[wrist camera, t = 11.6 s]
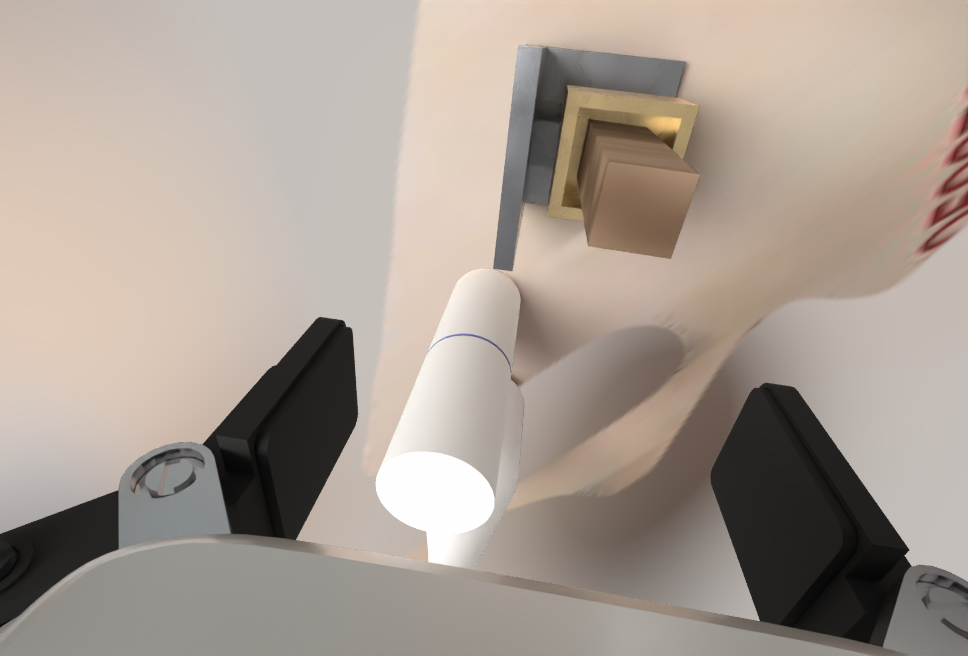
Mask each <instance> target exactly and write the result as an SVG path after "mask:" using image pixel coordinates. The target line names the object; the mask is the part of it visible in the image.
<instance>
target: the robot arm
mask: <svg viewBox="0 0 968 656" xmlns="http://www.w3.org/2000/svg"><path fill="white" fill-rule="evenodd" d="M357 417H358V405H357V391H356V376H355V361H354V347H353V333H352V329H351V328H350V327H346V325H345V322H344V321H343V320H337V319H329V318H323V317H319V318H318V319H316V320H315V321H314V323H313V324H312V325H311V326H310V327H309V328H308V330H307V331H306V332H305V333H304V334H303V335H302V337H301V338H300V339H299V340H298V341H297V342H296V343H295V344H294V346H293V347H292V348H291V349H290V350H289V351H288V352H287V354H286V355H285V356H284V357H283V358H282V359H281V361H280V362H279V363H278V364H277V365H276V366H272V368H270V369H269V370H268V371H267V372H266V373H265V374H264V375H263V376H262V377H261V379H260V380H259V381H258V382H257V383H256V384H255V385H254V386H253V388H252V389H251V390H250V391H249V392H248V393H247V394H246V396H245V397H244V398H243V399H242V400H241V401H240V402H239V404H238V405H237V406H236V407H235V408H234V409H233V410H232V411H231V413H230V414H229V415H228V416H227V417H226V418H225V419H224V421H223V422H222V423H221V424H220V425H219V426H218V427H217V429H216V430H215V431H214V432H213V433H212V434H211V436H210V437H209V438H208V439H207V440H206V441H205V442H204V443H203V444H197V443H193V442H179V443H174V444H169V445H165V446H162V447H160V448H157V449H154V450H152V451H150V452H148V453H147V454H145V455H143V456H142V457H140V458H138V459H137V460H136V461H135V462H134V463H133V464H132V465H130V466H129V467H128V469H127V470H126V471H125V473H124V474H123V476H122V477H121V480H120V484H119V490H118V491H115V492H112V493H109V494H107V495H104V496H101V497H99V498H96V499H93V500H91V501H88V502H85V503H82V504H80V505H77V506H74V507H72V508H69V509H66V510H64V511H61V512H58V513H56V514H53V515H50V516H47V517H45V518H42V519H39V520H37V521H34V522H31V523H29V524H26V525H23V526H21V527H18V528H15V529H13V530H10V531H7V532H4V533H2V534H0V656H968V582H967V581H966V580H964V579H962V578H960V577H958V576H956V575H954V574H952V573H950V572H948V571H946V570H943V569H940V568H937V567H934V566H927V565H917V566H913V567H912V566H911V565H910V563H909V562H908V560H907V559H906V557H905V556H904V555H905V554H906V553H907V552H908V551H909V549H908V547H907V546H906V544H905V543H904V541H903V540H902V539H901V537H900V536H899V534H898V533H897V532H896V530H895V529H894V528H893V526H892V524H891V523H890V522H889V520H888V519H887V517H886V516H885V514H884V513H883V512H882V510H881V509H880V507H879V506H878V505H877V503H876V502H875V501H874V499H873V497H872V496H871V495H870V493H869V492H868V490H867V489H866V488H865V486H864V485H863V483H862V482H861V480H860V479H859V478H858V476H857V475H856V473H855V472H854V470H853V469H852V468H851V466H850V465H849V463H848V462H847V460H846V459H845V458H844V456H843V455H842V453H841V452H840V450H839V449H838V448H837V446H836V445H835V443H834V442H833V440H832V439H831V438H830V436H829V435H828V433H827V432H826V431H825V429H824V428H823V426H822V425H821V423H820V422H819V421H818V419H817V418H816V416H815V415H814V414H813V412H812V411H811V409H810V408H809V406H808V405H807V403H806V402H805V401H804V399H803V398H802V396H801V395H800V394H799V392H798V391H797V390H796V389H795V388H794V387H791V386H785V385H778V384H770V383H764V384H763V385H761V386H760V387H759V388H754V389H753V390H752V391H751V392H750V394H749V396H748V398H747V400H746V402H745V404H744V406H743V408H742V410H741V412H740V414H739V416H738V418H737V420H736V422H735V424H734V426H733V428H732V430H731V432H730V434H729V436H728V438H727V440H726V442H725V444H724V446H723V448H722V450H721V452H720V454H719V456H718V458H717V460H716V462H715V464H714V466H713V468H712V471H711V484H712V487H713V490H714V493H715V496H716V499H717V502H718V504H719V507H720V510H721V512H722V515H723V518H724V521H725V524H726V527H727V529H728V532H729V535H730V538H731V540H732V543H733V546H734V549H735V552H736V555H737V558H738V560H739V563H740V566H741V569H742V571H743V574H744V577H745V580H746V583H747V586H748V588H749V591H750V594H751V596H752V600H753V602H754V605H755V608H756V611H757V614H758V616H759V619H760V621H755V620H749V619H744V618H739V617H733V616H728V615H723V614H717V613H712V612H706V611H701V610H695V609H690V608H684V607H679V606H673V605H668V604H662V603H657V602H652V601H646V600H640V599H635V598H630V597H624V596H619V595H613V594H607V593H601V592H596V591H590V590H585V589H579V588H574V587H568V586H563V585H557V584H551V583H546V582H540V581H534V580H529V579H523V578H518V577H511V576H506V575H500V574H495V573H489V572H483V571H478V570H472V569H466V568H461V567H455V566H449V565H443V564H437V563H431V562H426V561H420V560H414V559H408V558H402V557H397V556H390V555H385V554H379V553H373V552H367V551H362V550H355V549H349V548H342V547H335V546H330V545H323V544H317V543H310V542H303V541H297V540H296V538H297V537H298V535H299V533H300V531H301V529H302V527H303V525H304V523H305V521H306V519H307V517H308V515H309V513H310V511H311V510H312V507H313V506H314V504H315V502H316V500H317V498H318V496H319V494H320V493H321V491H322V489H323V487H324V485H325V483H326V481H327V479H328V477H329V475H330V473H331V471H332V470H333V468H334V466H335V464H336V462H337V460H338V458H339V456H340V454H341V452H342V450H343V448H344V446H345V445H346V443H347V441H348V439H349V437H350V435H351V433H352V431H353V429H354V427H355V425H356V422H357Z"/></svg>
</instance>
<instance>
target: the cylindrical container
mask: <svg viewBox="0 0 968 656" xmlns="http://www.w3.org/2000/svg"><path fill="white" fill-rule="evenodd" d="M520 303H521V298H520V293H519V290H518V288H517V286H516V285H515V283H514V282H513V281H512V280H511V279H510V278H509V277H508V276H507V275H505V274H504V273H502V272H499V271H497V270H493V269H485V268H484V269H476V270H473V271H470V272H468V273H467V274H465V275H464V276H462V277H461V278H460V279H459V281H458V282H457V283H456V286H455V288H454V290H453V293H452V295H451V297H450V300H449V302H448V305H447V307H446V310H445V312H444V314H443V317H442V319H441V322H440V324H439V326H438V329H437V331H436V334H435V336H434V339H433V341H432V343H431V346H430V348H429V351H428V353H427V356H426V358H425V360H424V363H423V365H422V368H421V370H420V373H419V375H418V377H417V380H416V382H415V385H414V387H413V390H412V392H411V395H410V397H409V399H408V402H407V404H406V407H405V409H404V412H403V414H402V416H401V419H400V421H399V424H398V426H397V429H396V431H395V433H394V436H393V438H392V441H391V443H390V446H389V448H388V451H387V453H386V455H385V458H384V460H383V463H382V465H381V468H380V470H379V472H378V475H377V479H376V490H377V494H378V496H379V499H380V501H381V502H382V504H383V505H384V506H385V508H386V509H387V510H388V511H389V512H390V513H391V514H392V515H393V516H395V517H396V518H398V519H399V520H401V521H402V522H404V523H406V524H408V525H409V526H412V527H415V528H417V529H419V530H423V531H427V532H431V533H439V534H456V533H463V532H466V531H470V530H473V529H475V528H477V527H479V526H480V525H482V524H483V523H484V522H485V521H487V519H488V518H489V517H490V515H491V514H492V511H493V509H494V503H495V496H496V488H497V480H498V473H499V465H500V458H501V450H502V442H503V435H504V427H505V419H506V412H507V404H508V396H509V389H510V381H511V373H512V366H513V358H514V350H515V343H516V335H517V327H518V320H519V312H520Z"/></svg>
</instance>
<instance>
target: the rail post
mask: <svg viewBox="0 0 968 656" xmlns="http://www.w3.org/2000/svg"><path fill="white" fill-rule="evenodd" d="M699 176H700V174H699V173H698V172H697V171H696V170H694V169H693V168H692V167H691V166H690V165H689V164H688V163H687V162H685V161H684V160H683V159H682V158H681V157H680V156H679V155H678V154H676V153H675V152H674V151H673V150H672V149H671V148H670V147H669V146H668V145H666V144H665V143H664V142H663V141H662V140H661V139H660V138H659V137H657V136H656V135H655V134H654V133H653V132H652V131H651V130H650V129H648V128H647V127H644V126H636V125H629V124H622V123H615V122H608V121H600V120H593V119H589V121H588V126H587V131H586V135H585V140H584V145H583V149H582V154H581V159H580V164H579V168H578V173H577V182H578V188H579V194H580V200H581V206H582V212H583V218H584V224H585V230H586V236H587V242H588V246H591V247H597V248H604V249H610V250H617V251H623V252H630V253H637V254H643V255H650V256H656V257H663V258H669V259H671V257H672V254H673V251H674V248H675V245H676V242H677V240H678V237H679V234H680V231H681V228H682V225H683V222H684V219H685V217H686V214H687V211H688V208H689V205H690V202H691V199H692V196H693V194H694V191H695V188H696V185H697V182H698V179H699Z"/></svg>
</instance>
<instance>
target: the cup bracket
mask: <svg viewBox="0 0 968 656" xmlns="http://www.w3.org/2000/svg"><path fill="white" fill-rule="evenodd" d="M684 64H685V62H683V61H674V60H665V59H656V58H646V57H637V56H628V55H619V54H609V53H600V52H591V51H581V50H572V49H563V48H553V47H544V46H535V45H518V50H517V59H516V68H515V77H514V86H513V95H512V104H511V113H510V122H509V131H508V140H507V149H506V158H505V167H504V176H503V185H502V194H501V203H500V212H499V221H498V230H497V239H496V248H495V258H494V267H493V269H500V270H507V271H512V270H513V265H514V259H515V254H516V249H517V243H518V238H519V232H520V227H521V222H522V216H523V211H524V206H525V203H533V204H541V205H548V216H549V217H557V218H564V219H572V220H580V221H584V218H583V212H582V206H581V200H580V194H579V188H578V182H577V173H578V168H579V164H580V159H581V154H582V149H583V145H584V140H585V135H586V131H587V126H588V121H589V119H593V120H600V121H608V122H615V123H622V124H629V125H636V126H644V127H647V128H648V129H650V130H651V131H652V132H653V133H654V134H655V135H656V136H657V137H659V138H660V139H661V140H662V141H663V142H664V143H665V144H666V145H668V146H669V147H670V148H671V149H672V150H673V151H674V152H675V153H676V154H678V155H679V156H680V157H681V158H682V159H684V155H685V152H686V149H687V145H688V142H689V139H690V135H691V132H692V129H693V126H694V122H695V119H696V116H697V112H698V109H699V105H696V104H694V103H692V102H689V101H687V100H685V99H682V98H678V97H676V93H677V90H678V86H679V83H680V79H681V75H682V72H683V68H684Z"/></svg>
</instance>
